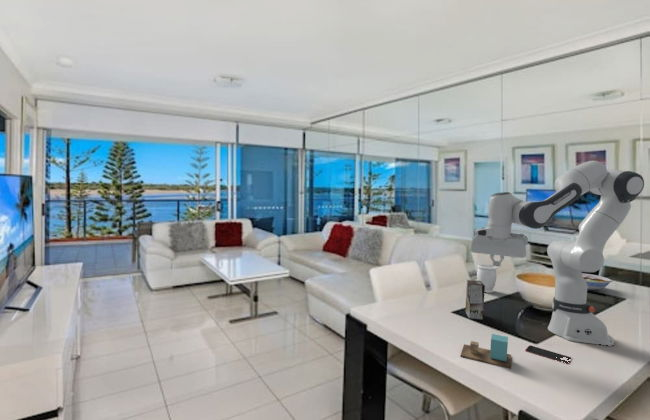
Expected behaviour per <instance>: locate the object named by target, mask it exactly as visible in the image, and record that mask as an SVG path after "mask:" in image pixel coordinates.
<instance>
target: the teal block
mask: <svg viewBox="0 0 650 420" xmlns="http://www.w3.org/2000/svg"><path fill="white" fill-rule="evenodd" d="M508 343H509V336H504V335H499V334H495V333H491V337H490V348H489V350H490V358H493V359H497V360H501V361H506V362H507V354H508V347H509V346H508V345H509V344H508Z"/></svg>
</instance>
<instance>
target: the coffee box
mask: <svg viewBox="0 0 650 420" xmlns="http://www.w3.org/2000/svg"><path fill="white" fill-rule="evenodd" d="M465 289H466V292H465V293H466V295H465V313H466V315H467V318H469V319H473V320H483V319H484V307H485V306H484V304H485V285H484V284H483V283H482V282H481V281H477V280H474V279H473V280H471V279H466V288H465Z"/></svg>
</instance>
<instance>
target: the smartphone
mask: <svg viewBox="0 0 650 420" xmlns="http://www.w3.org/2000/svg"><path fill="white" fill-rule="evenodd" d="M524 351H525V352H526V353H530V354H533V355H535V356H539V357H543V358H545V357H546V359H549V360H552V361H555V360H557V361H556V362H558V361H559V363H561V361H563V363H562V364H565V363H566V364H565V365H570V364H571V363H572V361H568V362H569V363H570V364H569V363H568V362H567V361H565V360H561V359H560V358H563V357H566V358H568V359H567V360H569V359H571V358H572V357H571V356H568V355H564V354H561V353H559V352H555V351H552V350H551V351H550V350H547V349H544V348H540V347H538V346H534V345H528V346H527V347H526V349H525V350H524ZM556 357H557V358H556ZM564 362H565V363H564Z"/></svg>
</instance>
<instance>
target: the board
mask: <svg viewBox="0 0 650 420" xmlns="http://www.w3.org/2000/svg"><path fill="white" fill-rule="evenodd" d="M479 346H480V345H479V342H478V341H473V340H470V345H469V344H465V343H464V344H463V347H462V349H461V353H460V358H465V359H469V360H474V361H478V362H481V363H486V364H490V365H494V366H498V367H503V368H507V369H510V370H511V369H512V354H509V353H507V362H506V361H501V360H497V359H493V358H490V349H487V348H484V347H483V348H482V347H479Z"/></svg>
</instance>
